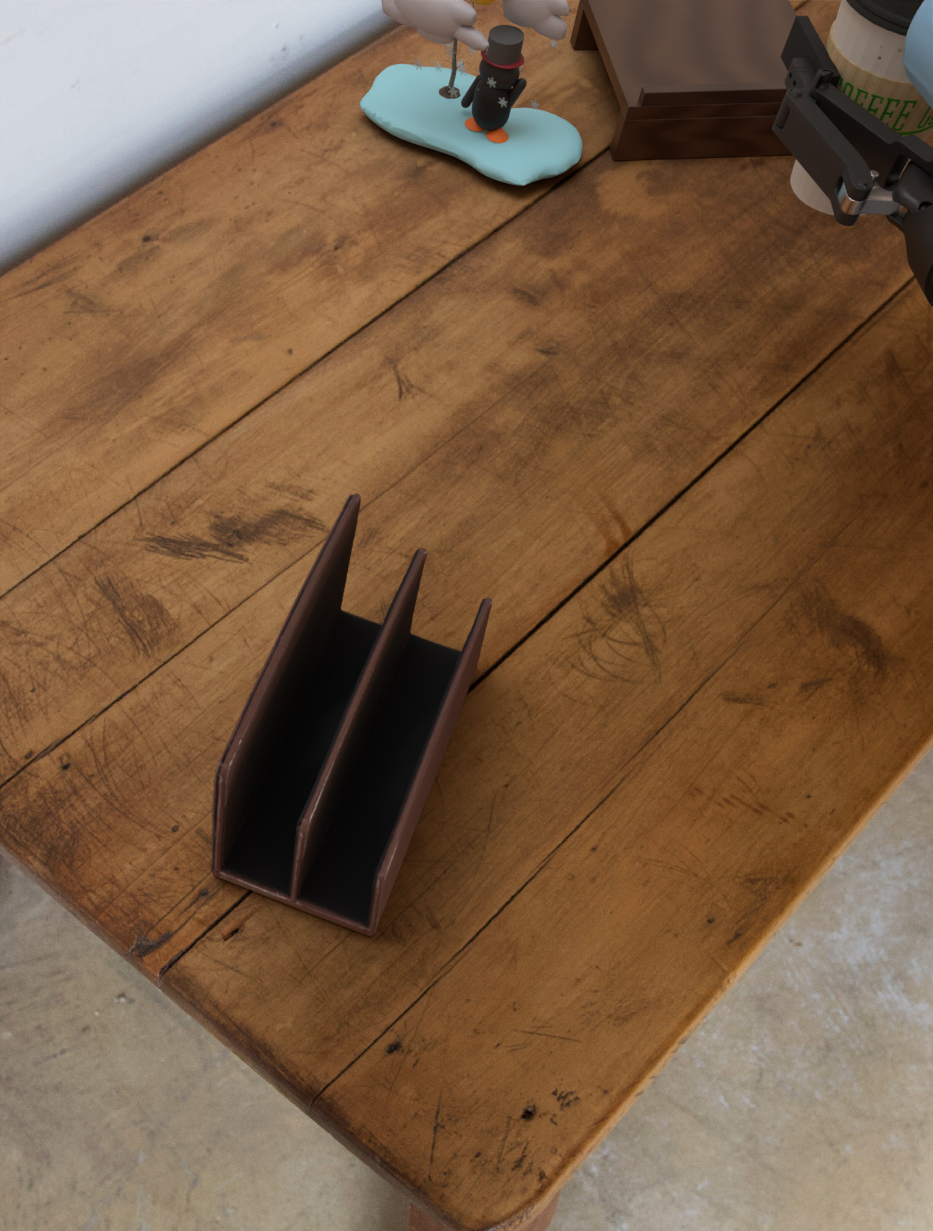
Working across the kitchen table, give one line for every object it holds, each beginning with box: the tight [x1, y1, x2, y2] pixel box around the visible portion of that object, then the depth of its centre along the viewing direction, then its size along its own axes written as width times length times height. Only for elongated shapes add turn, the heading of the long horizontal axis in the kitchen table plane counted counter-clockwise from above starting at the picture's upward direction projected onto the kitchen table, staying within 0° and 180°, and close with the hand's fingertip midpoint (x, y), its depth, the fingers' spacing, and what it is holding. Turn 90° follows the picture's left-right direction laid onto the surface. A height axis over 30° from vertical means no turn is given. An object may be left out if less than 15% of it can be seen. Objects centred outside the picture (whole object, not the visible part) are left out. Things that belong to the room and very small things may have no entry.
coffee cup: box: [789, 0, 933, 217], centre depth 79 cm, size 10×10×15 cm
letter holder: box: [210, 492, 493, 938], centre depth 70 cm, size 10×20×14 cm, turn 157°
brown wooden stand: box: [569, 0, 798, 161], centre depth 110 cm, size 18×18×6 cm
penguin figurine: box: [359, 0, 584, 187], centre depth 103 cm, size 20×11×15 cm, turn 50°
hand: (864, 34), depth 81 cm, fingers closed on coffee cup, 9 cm apart
